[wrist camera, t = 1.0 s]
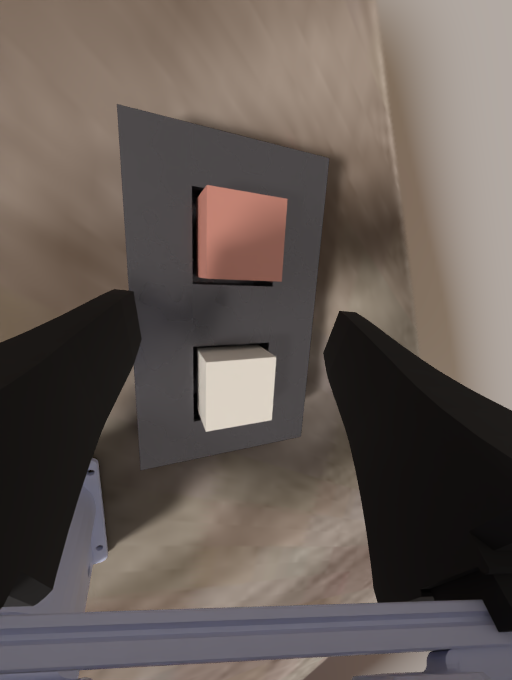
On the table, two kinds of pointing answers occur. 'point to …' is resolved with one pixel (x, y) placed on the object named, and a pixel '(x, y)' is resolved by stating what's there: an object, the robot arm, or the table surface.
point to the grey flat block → (212, 294)
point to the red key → (239, 235)
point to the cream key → (234, 385)
